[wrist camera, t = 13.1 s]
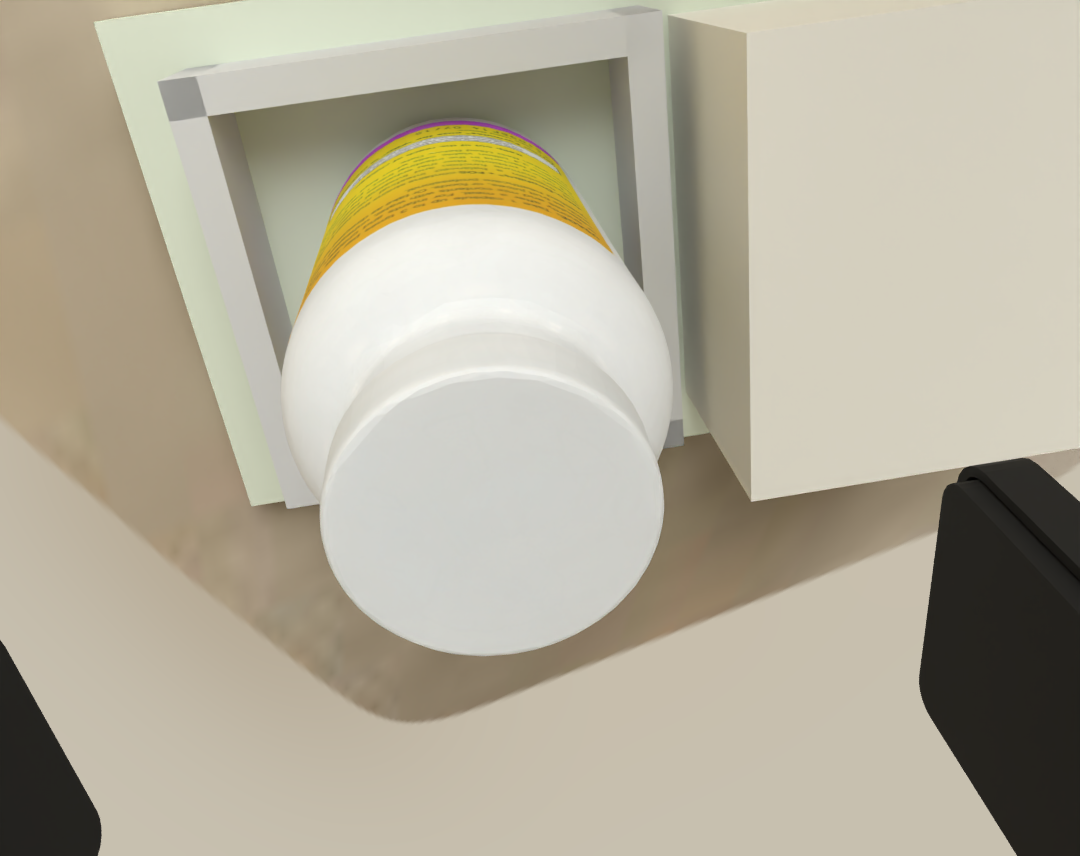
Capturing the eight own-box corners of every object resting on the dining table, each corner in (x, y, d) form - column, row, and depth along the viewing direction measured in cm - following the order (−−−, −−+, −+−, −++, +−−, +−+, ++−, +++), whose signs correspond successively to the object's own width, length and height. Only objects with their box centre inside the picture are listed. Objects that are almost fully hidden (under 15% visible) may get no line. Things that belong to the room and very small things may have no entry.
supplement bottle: (276, 193, 22) (122, 443, 11) (514, 61, 21) (616, 183, 10) (414, 404, 25) (408, 770, 14) (627, 295, 24) (801, 591, 13)
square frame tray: (1006, -105, 22) (1250, -133, 16) (954, 369, 28) (1114, 494, 22) (114, 18, 21) (-27, 44, 15) (259, 480, 27) (206, 644, 21)
